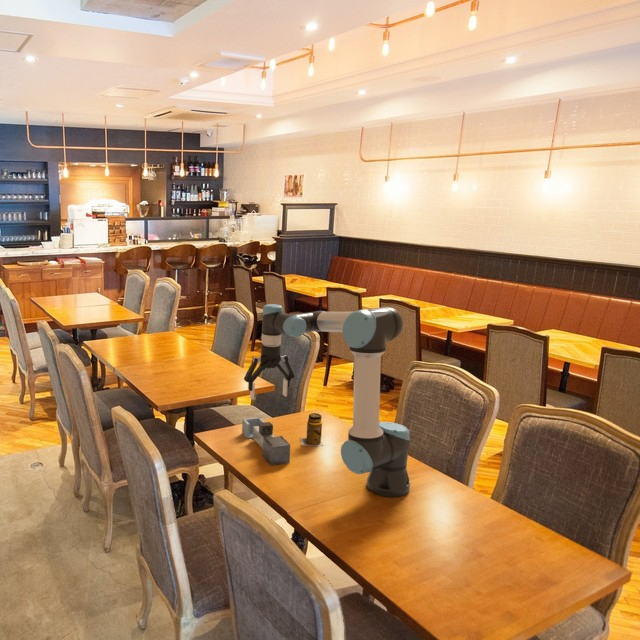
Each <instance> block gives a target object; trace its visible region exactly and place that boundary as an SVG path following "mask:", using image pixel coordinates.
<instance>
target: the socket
mask: <svg viewBox="0 0 640 640" xmlns="http://www.w3.org/2000/svg"><path fill="white" fill-rule="evenodd" d="M265 422H266V421H264V420H263V419H262V418H261V416H260V417H258V416H257V417H249V418H243V419H242V425H241V427H242V431H241V434H242V435H243V437H245V438H246V440H249V439H250V440H251V439H253V427H254V426H259V423H265Z"/></svg>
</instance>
